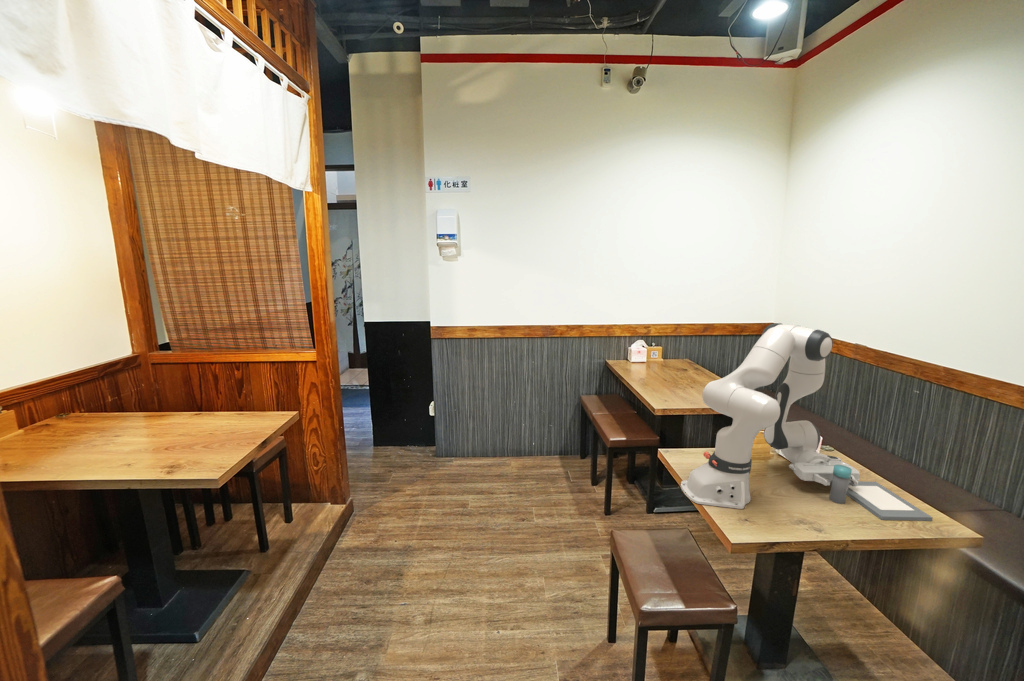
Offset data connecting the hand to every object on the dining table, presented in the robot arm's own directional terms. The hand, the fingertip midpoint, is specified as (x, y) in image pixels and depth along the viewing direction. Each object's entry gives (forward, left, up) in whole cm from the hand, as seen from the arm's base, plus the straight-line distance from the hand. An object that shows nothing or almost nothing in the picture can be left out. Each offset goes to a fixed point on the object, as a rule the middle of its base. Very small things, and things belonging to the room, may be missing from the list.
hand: (842, 484), depth 146 cm
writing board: (+14, +1, -7) cm, 15 cm away
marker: (0, +1, -7) cm, 7 cm away
